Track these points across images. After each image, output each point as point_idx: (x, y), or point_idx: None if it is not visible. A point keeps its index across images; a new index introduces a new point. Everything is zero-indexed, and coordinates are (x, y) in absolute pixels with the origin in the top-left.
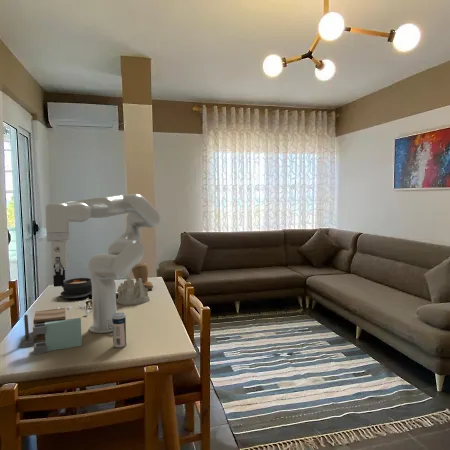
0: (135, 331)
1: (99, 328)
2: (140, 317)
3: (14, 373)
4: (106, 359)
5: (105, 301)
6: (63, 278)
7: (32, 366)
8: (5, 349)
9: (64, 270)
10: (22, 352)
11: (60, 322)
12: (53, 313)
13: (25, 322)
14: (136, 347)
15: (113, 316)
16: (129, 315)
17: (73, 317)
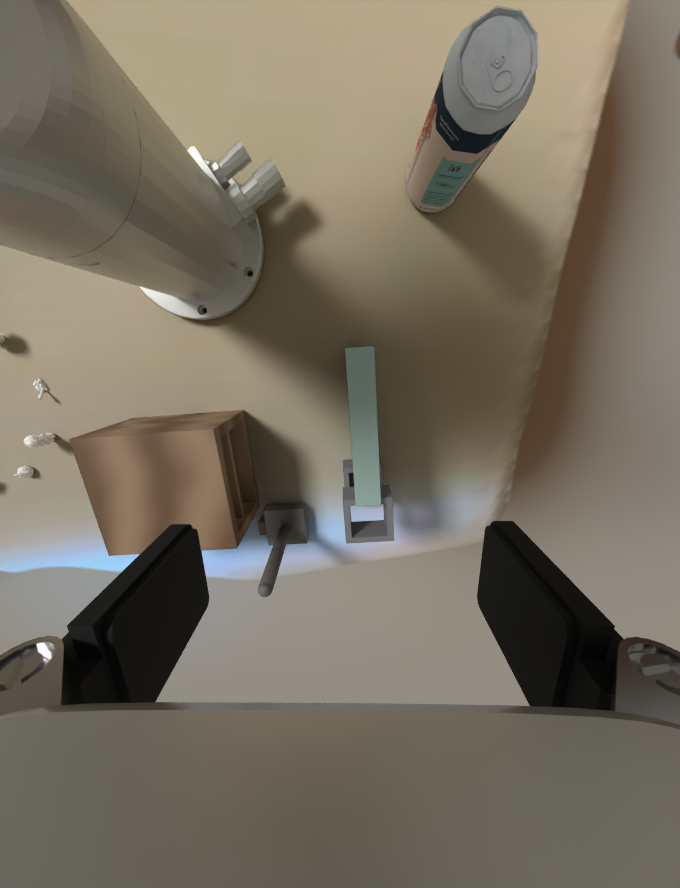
0: (282, 80)
1: (237, 270)
2: None
3: (493, 520)
4: (539, 249)
5: (174, 161)
6: (549, 575)
7: (470, 484)
8: (307, 569)
9: (99, 623)
10: None
11: (377, 442)
12: (156, 483)
13: (277, 572)
14: None
15: (501, 116)
16: None
17: (42, 394)
